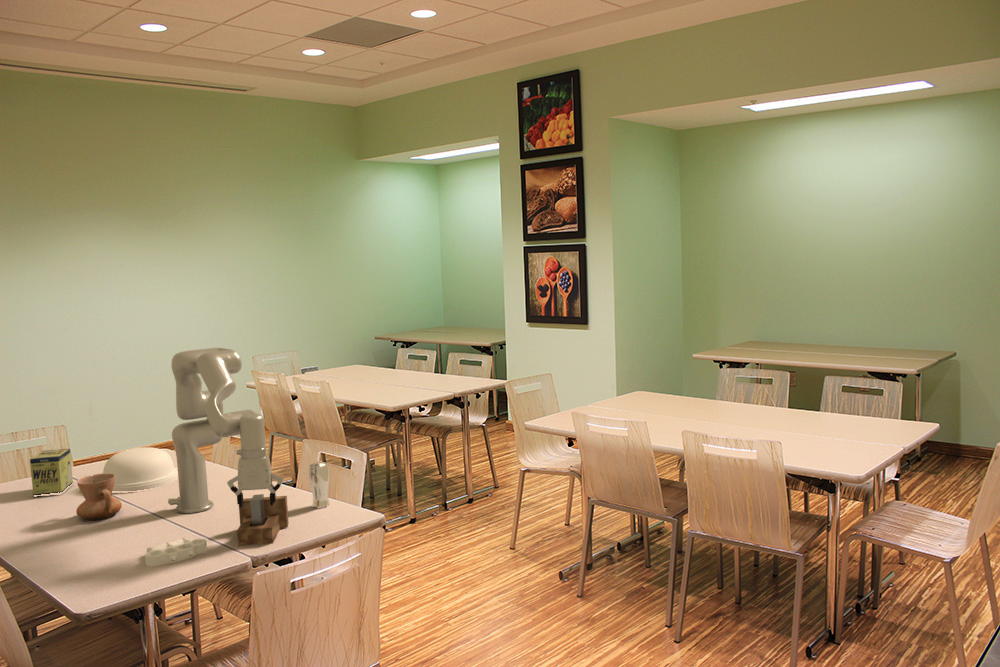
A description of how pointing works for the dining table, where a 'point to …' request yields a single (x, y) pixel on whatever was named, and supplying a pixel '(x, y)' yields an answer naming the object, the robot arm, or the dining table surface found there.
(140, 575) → the dining table surface
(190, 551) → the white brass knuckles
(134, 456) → the dome cover
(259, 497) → the grey rectangular block
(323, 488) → the beer glass
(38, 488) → the protein box
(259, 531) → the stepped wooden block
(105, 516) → the ceramic jug
